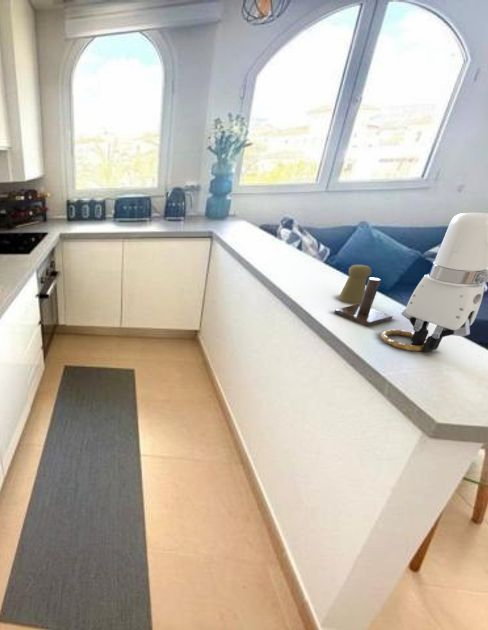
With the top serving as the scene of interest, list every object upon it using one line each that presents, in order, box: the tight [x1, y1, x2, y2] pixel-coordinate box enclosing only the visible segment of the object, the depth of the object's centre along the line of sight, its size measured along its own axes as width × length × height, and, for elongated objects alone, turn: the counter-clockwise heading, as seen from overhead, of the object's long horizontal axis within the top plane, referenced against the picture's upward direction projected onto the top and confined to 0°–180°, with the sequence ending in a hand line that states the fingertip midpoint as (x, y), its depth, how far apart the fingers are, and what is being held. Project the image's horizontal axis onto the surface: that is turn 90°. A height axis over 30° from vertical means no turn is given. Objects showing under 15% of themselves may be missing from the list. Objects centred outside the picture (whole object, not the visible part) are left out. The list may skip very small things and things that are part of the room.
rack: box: [334, 277, 394, 327], centre depth 94 cm, size 9×9×11 cm
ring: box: [380, 329, 427, 352], centre depth 83 cm, size 9×9×1 cm
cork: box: [338, 264, 372, 305], centre depth 104 cm, size 6×6×11 cm
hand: (422, 347), depth 80 cm, fingers closed on ring, 1 cm apart
